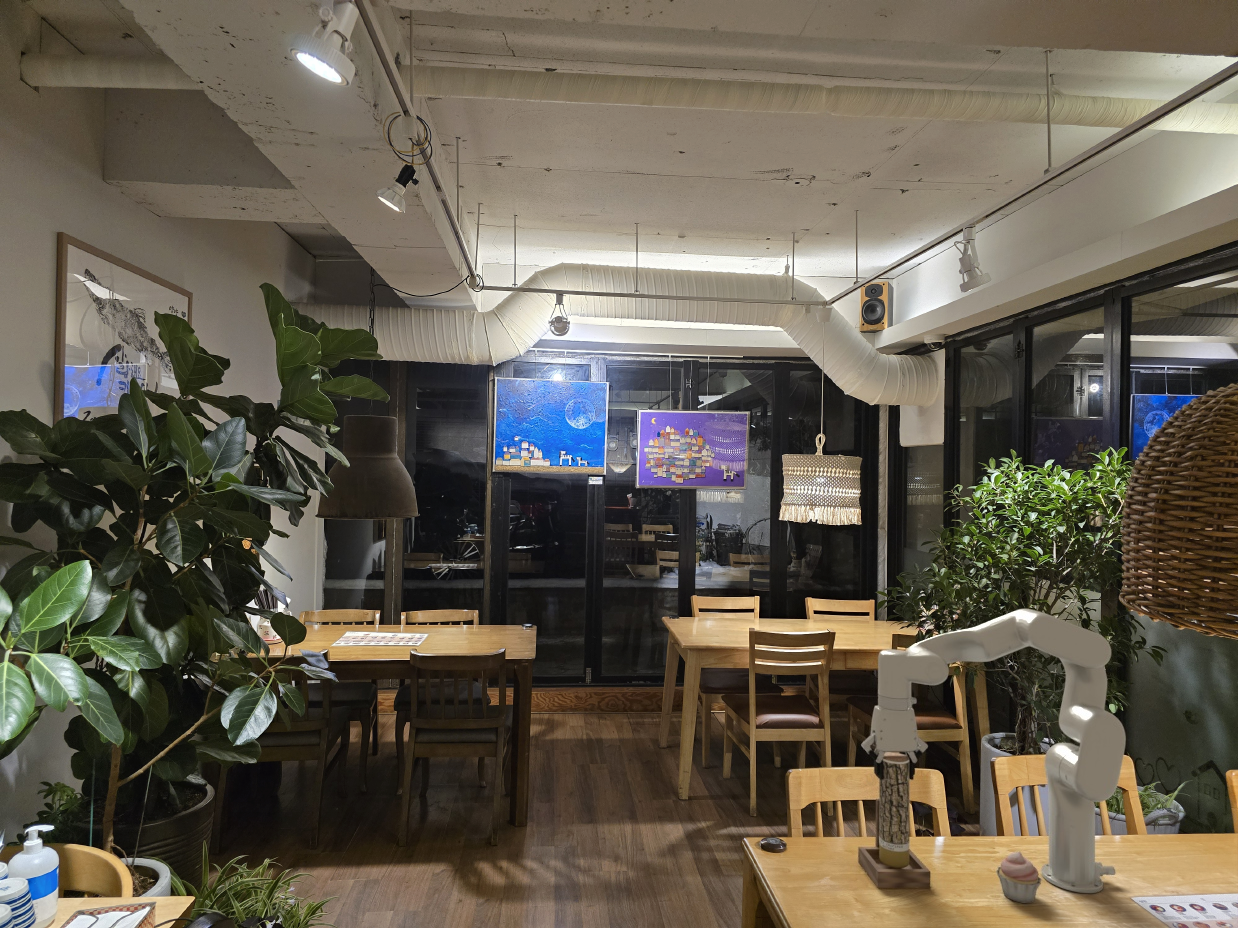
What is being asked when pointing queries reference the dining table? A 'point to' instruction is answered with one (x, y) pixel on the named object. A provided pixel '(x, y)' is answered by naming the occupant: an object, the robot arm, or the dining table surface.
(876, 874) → the holder
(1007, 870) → the cupcake
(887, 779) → the paper tube
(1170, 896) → the dining table surface
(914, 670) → the robot arm
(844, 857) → the dining table surface
